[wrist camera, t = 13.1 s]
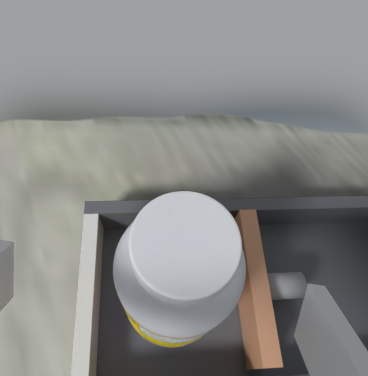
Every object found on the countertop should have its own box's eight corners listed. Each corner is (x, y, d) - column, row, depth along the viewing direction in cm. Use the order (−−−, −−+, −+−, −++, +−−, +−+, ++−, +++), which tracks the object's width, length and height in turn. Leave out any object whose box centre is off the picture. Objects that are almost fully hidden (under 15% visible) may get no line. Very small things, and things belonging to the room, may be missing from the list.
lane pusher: (279, 229, 29) (296, 208, 25) (306, 365, 24) (333, 363, 20) (228, 230, 28) (239, 209, 25) (246, 369, 23) (263, 368, 20)
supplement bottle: (139, 246, 27) (131, 154, 16) (222, 265, 27) (274, 187, 16) (112, 337, 24) (79, 303, 13) (207, 360, 24) (258, 346, 12)
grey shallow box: (366, 215, 31) (401, 189, 27) (422, 381, 25) (479, 382, 21) (93, 222, 29) (82, 195, 24) (81, 407, 23) (63, 414, 18)
